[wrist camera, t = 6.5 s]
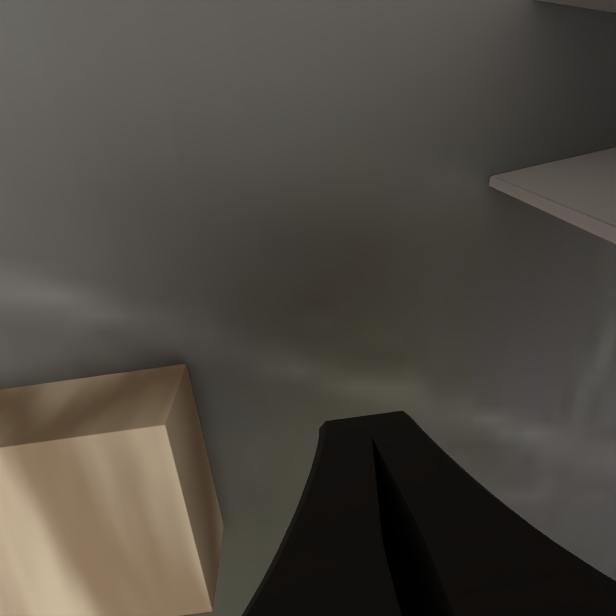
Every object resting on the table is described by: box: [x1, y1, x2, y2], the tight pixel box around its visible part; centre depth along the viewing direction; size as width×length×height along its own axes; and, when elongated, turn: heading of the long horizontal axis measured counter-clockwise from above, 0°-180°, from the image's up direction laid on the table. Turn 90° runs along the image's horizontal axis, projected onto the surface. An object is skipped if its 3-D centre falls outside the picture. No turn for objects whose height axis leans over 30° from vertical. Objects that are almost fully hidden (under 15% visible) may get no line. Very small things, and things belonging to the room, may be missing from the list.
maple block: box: [0, 364, 224, 616], centre depth 19 cm, size 4×7×10 cm
